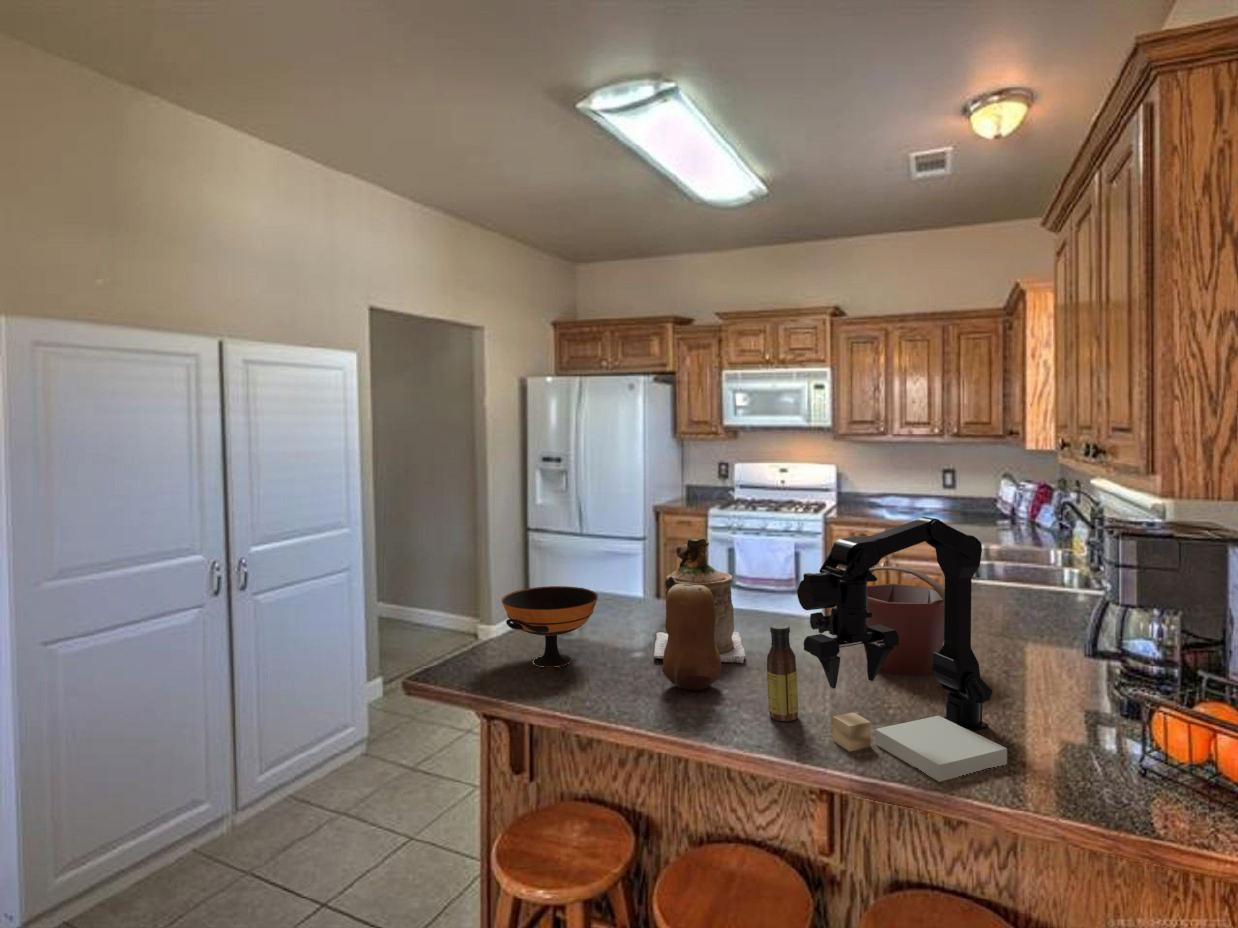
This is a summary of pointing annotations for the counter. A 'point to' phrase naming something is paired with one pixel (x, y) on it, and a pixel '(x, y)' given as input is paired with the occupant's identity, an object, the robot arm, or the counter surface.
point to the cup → (549, 615)
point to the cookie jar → (719, 584)
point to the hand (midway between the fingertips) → (852, 684)
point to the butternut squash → (691, 637)
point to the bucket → (909, 621)
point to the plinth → (940, 747)
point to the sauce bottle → (782, 676)
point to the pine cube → (851, 731)
